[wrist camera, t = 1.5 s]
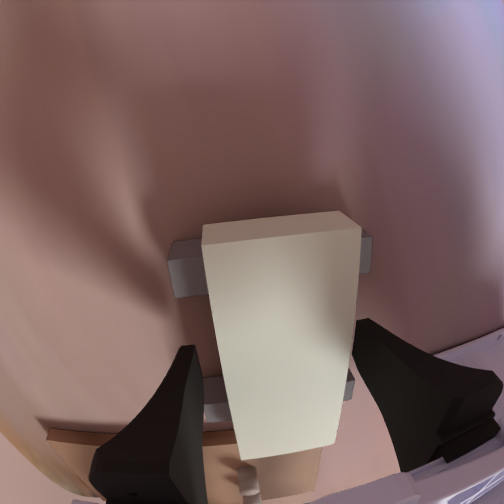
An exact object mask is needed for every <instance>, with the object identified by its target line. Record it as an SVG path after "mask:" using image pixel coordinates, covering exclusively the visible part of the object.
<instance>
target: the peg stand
mask: <svg viewBox="0 0 504 504" xmlns="http://www.w3.org/2000/svg"><path fill="white" fill-rule="evenodd" d="M116 435H117V434H107V433H91V432H79V431H68V430H59V429H51V428H50V430H49V433H48V435H47V438H46V441H47V442H48V443H49V444H50V445H51V447H52V448H53V449H54V450H55V451H56V452H57V454H58V455H59V456H60V457H61V458H62V459H63V460H64V462H65V463H66V464H67V465H68V466H69V467H70V468H71V469H72V470H73V471H74V472H75V473H76V474H77V475H78V476H79V478H80V479H81V480H82V481H83V482H84V483H85V484H86V485H87V486H88V487H89V488H91V489H92V490H93V491H94V492H95V493H96V494H97V495H98V496H99V497H100V498H101V499H102V500H103V501H106V499H105V498H104V497H103V496H102V495H101V494H100V493H99V492H98V491H97V490H96V489H95V488H94V487H93V486H92V484H91V483H90V482H89V478H88V477H89V472H90V467H91V462H92V459H93V456H94V454H95V451H96V449H97V448H99V447H100V446H102V445H103V444H104V443H106V442H107V441H109V440H110V439H112V438H113V437H114V436H116ZM202 449H203V462H204V473H205V483H206V491H207V499H208V504H231V503H242V502H243V504H262V501H261V500H267V499H273V498H280V497H286V496H291V495H297V494H302V493H307V492H311V491H314V489H315V484H316V480H317V474H318V469H319V464H320V459H321V453H322V447H318V448H314V449H309V450H304V451H299V452H294V453H288V454H282V455H276V456H270V457H263V458H256V459H248V460H241V457H240V453H239V448H238V444H237V439H236V435H235V430H225V431H214V432H203V434H202Z"/></svg>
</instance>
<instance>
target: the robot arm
mask: <svg viewBox="0 0 504 504" xmlns="http://www.w3.org/2000/svg"><path fill="white" fill-rule="evenodd" d="M352 356H353V358H354V361H355V364H356V366H357V369H358V371H359V373H360V375H361V377H362V379H363V380H364V382H365V384H366V386H367V388H368V389H369V391H370V393H371V395H372V396H373V398H374V400H375V402H376V404H377V405H378V407H379V409H380V411H381V413H382V416H383V418H384V421H385V423H386V426H387V428H388V431H389V434H390V437H391V440H392V443H393V446H394V449H395V452H396V456H397V459H398V463H399V467H400V471H401V473H397V474H393V475H390V476H388V477H385V478H382V479H379V480H376V481H373V482H370V483H367V484H364V485H361V486H358V487H354V488H351V489H347V490H344V491H340V492H336V493H333V494H330V495H327V496H324V497H321V498H319V499H317V500H315V501H313V502H310V503H305V504H504V328H502V329H500V330H498V331H495V332H493V333H491V334H488V335H486V336H483V337H481V338H478V339H476V340H473V341H471V342H468V343H466V344H463V345H460V346H458V347H455V348H452V349H449V350H447V351H444V352H441V353H438V354H435V355H431V354H428V353H426V352H424V351H422V350H420V349H418V348H416V347H414V346H412V345H411V344H409V343H407V342H405V341H404V340H402V339H400V338H399V337H397V336H396V335H394V334H392V333H391V332H389V331H388V330H386V329H385V328H383V327H382V326H380V325H379V324H377V323H376V322H374V321H372V320H371V319H369V318H366V319H362V320H357V321H356V328H355V336H354V343H353V350H352ZM203 415H204V384H203V375H202V371H201V367H200V363H199V359H198V355H197V351H196V346H195V345H186V346H181V347H180V348H179V350H178V352H177V355H176V357H175V359H174V361H173V363H172V365H171V367H170V369H169V371H168V372H167V374H166V376H165V378H164V379H163V381H162V383H161V384H160V386H159V387H158V389H157V390H156V392H155V394H154V395H153V396H152V398H151V399H150V400H149V402H148V403H147V404H146V406H145V407H144V408H143V409H142V410H141V412H140V413H139V414H138V415H137V416H136V417H135V418H134V419H133V420H132V421H131V422H130V423H129V424H128V425H127V426H126V427H125V428H124V429H123V430H121V431H120V432H119V433H118V434H117V435H116V436H114V437H113V438H112V439H110V440H109V441H107V442H106V443H104V444H103V445H102V446H100V447H99V448H97V449H96V451H95V454H94V456H93V459H92V462H91V467H90V472H89V477H88V478H89V482H90V483H91V484H92V486H93V487H94V488H95V489H96V490H97V491H98V492H99V493H100V494H101V495H102V496H103V497H104V498H105V499H106V504H208V499H207V491H206V483H205V473H204V462H203V449H202V434H203ZM72 504H97V503H92V502H86V501H80V500H72Z"/></svg>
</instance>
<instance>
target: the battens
mask: <svg viewBox="0 0 504 504" xmlns="http://www.w3.org/2000/svg"><path fill="white" fill-rule="evenodd" d="M201 243H202V238H198V239H190V240H182V241H174V242H173V243H172V247H171V250H170V253H169V257H168V260H167V262H168V267H169V272H170V277H171V282H172V287H173V291H174V296H175V298H181V297H190V296H199V295H208V294H209V292H208V286H207V280H206V273H205V267H204V260H203V254H202V247H201ZM372 243H373V236H371V235H370V234H369V233H367V232H366V231H365V230H364V229H362V232H361V251H360V266H359V274H364V273H370V268H371V256H372ZM203 384H204V412H205V416H206V419H207V422H208V423H210V422H221V421H231V420H232V416H231V412H230V407H229V402H228V397H227V392H226V387H225V382H224V377H223V376H218V377H208V378H203ZM354 384H355V379H354V377H353V375H352V373H351V371H350V369H349V367H348V373H347V379H346V385H345V391H344V397H343V401H346V400H350V399H352V394H353V389H354Z"/></svg>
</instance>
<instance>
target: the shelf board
mask: <svg viewBox="0 0 504 504" xmlns="http://www.w3.org/2000/svg"><path fill="white" fill-rule="evenodd" d="M361 232H362V227H360V226H359V225H358V224H356V223H355V222H354V221H352V220H351V219H350V218H348V217H347V216H346V215H344V214H343V213H342V212H340V211H330V212H319V213H308V214H298V215H287V216H278V217H268V218H258V219H249V220H240V221H231V222H223V223H214V224H205V225H203V231H202V243H201V247H202V254H203V260H204V267H205V273H206V280H207V286H208V292H209V298H210V305H211V310H212V316H213V322H214V328H215V334H216V339H217V345H218V350H219V356H220V361H221V366H222V372H223V377H224V382H225V387H226V392H227V397H228V402H229V407H230V412H231V416H232V421H233V426H234V430H235V435H236V439H237V444H238V448H239V453H240V457H241V460H248V459H256V458H263V457H270V456H276V455H282V454H288V453H294V452H299V451H304V450H309V449H314V448H318V447H323V446H327V445H331V444H334V443H335V438H336V433H337V428H338V423H339V418H340V413H341V408H342V402H343V397H344V391H345V385H346V379H347V373H348V366H349V359H350V352H351V345H352V337H353V329H354V321H355V311H356V302H357V291H358V279H359V266H360V251H361Z"/></svg>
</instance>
